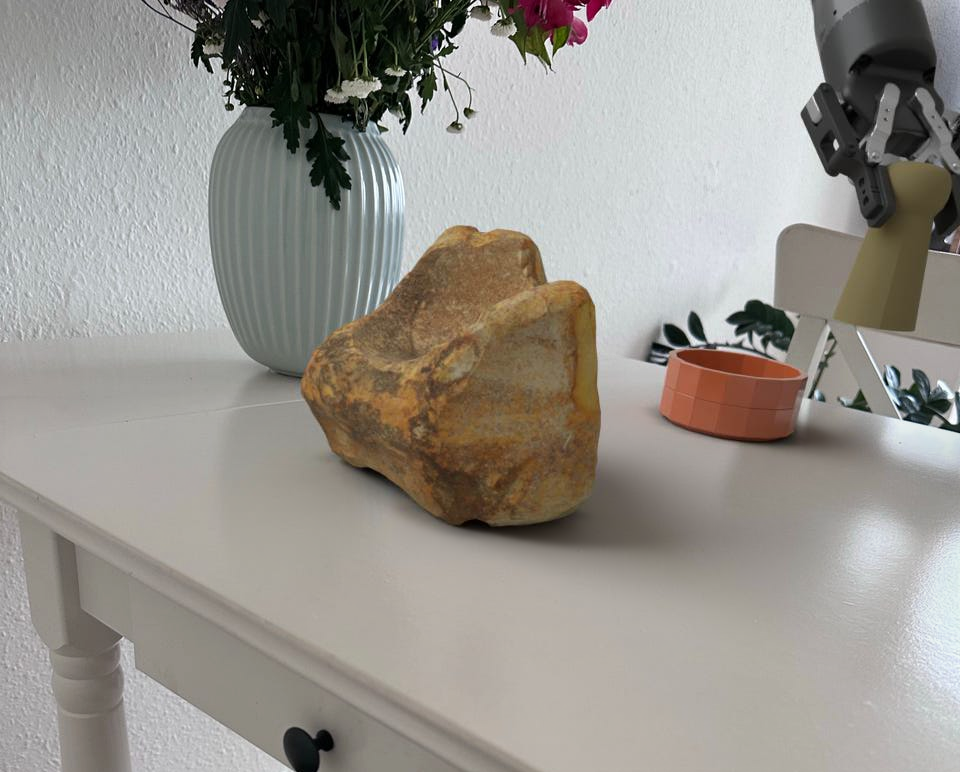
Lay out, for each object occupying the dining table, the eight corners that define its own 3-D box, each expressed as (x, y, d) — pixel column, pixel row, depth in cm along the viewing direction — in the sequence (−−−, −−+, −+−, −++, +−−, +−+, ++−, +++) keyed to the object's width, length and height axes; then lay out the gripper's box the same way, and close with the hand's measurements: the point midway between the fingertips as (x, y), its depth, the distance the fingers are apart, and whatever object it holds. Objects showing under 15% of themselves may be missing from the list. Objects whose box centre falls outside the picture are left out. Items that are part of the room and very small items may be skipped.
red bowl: (751, 411, 92) (765, 353, 90) (816, 448, 82) (834, 383, 80) (637, 404, 89) (649, 344, 87) (690, 442, 79) (705, 374, 77)
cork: (841, 312, 76) (882, 159, 71) (920, 326, 74) (969, 168, 69) (824, 319, 72) (867, 155, 67) (908, 334, 69) (959, 165, 64)
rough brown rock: (298, 433, 71) (285, 214, 64) (515, 426, 75) (526, 218, 67) (319, 570, 52) (304, 277, 44) (612, 552, 55) (644, 278, 48)
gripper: (815, -26, 67) (862, 174, 63) (986, 6, 71) (1043, 197, 66) (761, 65, 74) (799, 250, 70) (919, 89, 78) (966, 267, 73)
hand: (918, 223), depth 68 cm, fingers closed on cork, 5 cm apart
